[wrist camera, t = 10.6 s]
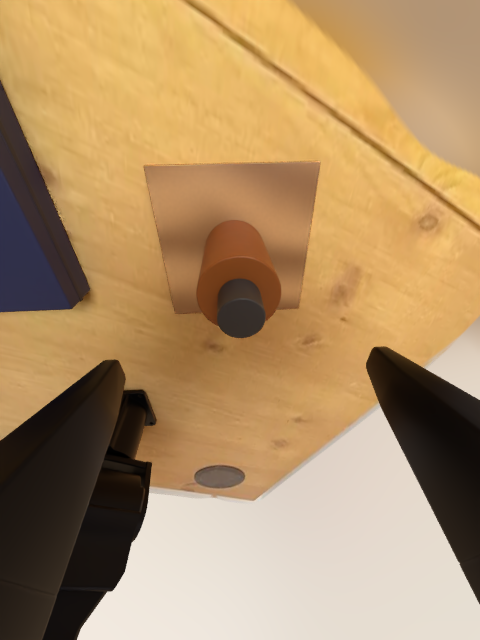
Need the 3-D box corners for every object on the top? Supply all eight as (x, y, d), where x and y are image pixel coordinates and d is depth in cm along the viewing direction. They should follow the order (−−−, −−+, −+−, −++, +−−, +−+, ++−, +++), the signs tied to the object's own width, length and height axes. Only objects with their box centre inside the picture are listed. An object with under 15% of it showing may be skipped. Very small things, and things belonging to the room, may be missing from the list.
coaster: (297, 306, 22) (298, 308, 21) (175, 311, 21) (175, 314, 21) (318, 161, 15) (321, 161, 15) (145, 165, 15) (143, 165, 15)
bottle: (262, 276, 19) (285, 353, 12) (208, 278, 19) (197, 357, 12) (265, 218, 17) (296, 272, 9) (202, 220, 17) (184, 276, 9)
